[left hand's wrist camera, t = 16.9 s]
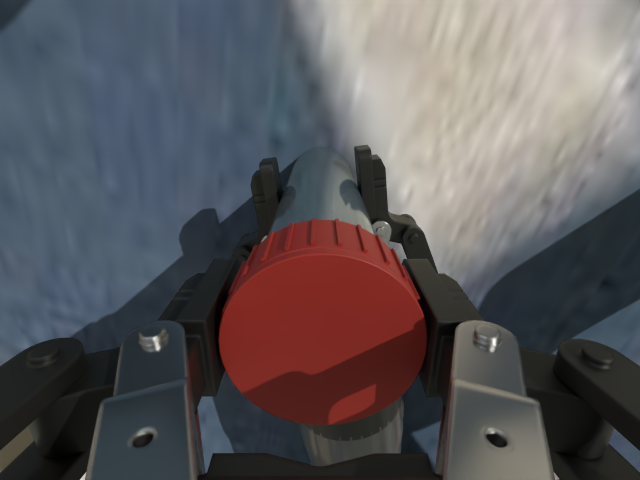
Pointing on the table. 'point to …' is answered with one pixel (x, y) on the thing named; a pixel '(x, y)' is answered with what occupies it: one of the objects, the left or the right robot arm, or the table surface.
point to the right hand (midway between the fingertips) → (315, 155)
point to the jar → (321, 192)
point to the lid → (322, 324)
